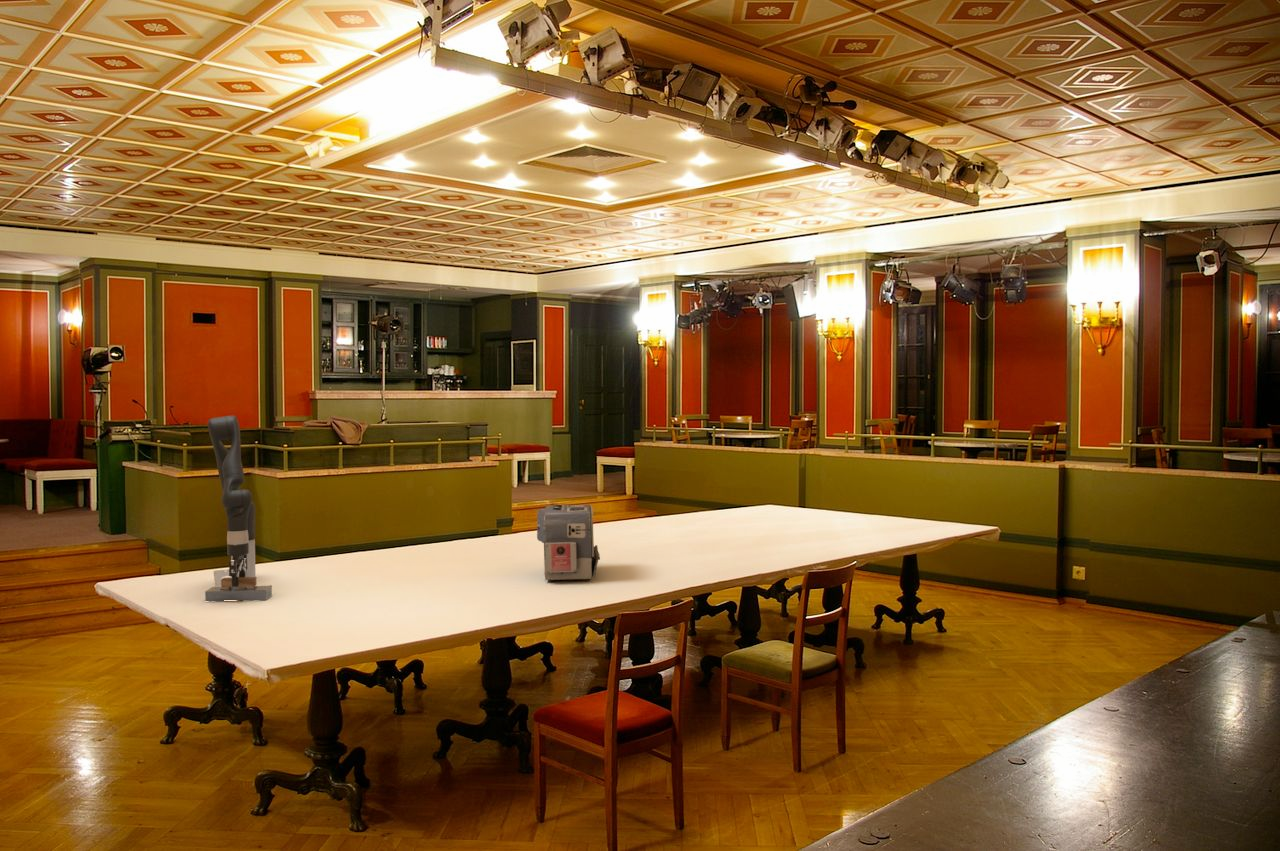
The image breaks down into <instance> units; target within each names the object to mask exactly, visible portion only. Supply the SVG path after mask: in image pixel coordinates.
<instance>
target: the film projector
mask: <svg viewBox="0 0 1280 851" xmlns="http://www.w3.org/2000/svg"><path fill="white" fill-rule="evenodd" d="M593 511H594V510H593V506H592V505H591V506H590V504H566V505H565V504H554V505H546V506H545V508H538V509H537V514H536V515H537V521H536V522H537V525H536V538H537V540H538V541H539V542H541V543H543V557H544V559H543V560H544V562H543V563H544V564H543V565H544V578H545V581H547V583H552V582H553V581H555V580H556V581H557V580H558V581H559V580H562V581H563V580H584V581H586V582H587V581H588V582H590V580H591V579H592V577H595V576H596V571H597V566H598V563H599V560H601V554H600V552H599V548H598V545H596V544H595V543H594V540H595V539H594V512H593ZM594 544H595V545H594Z"/></svg>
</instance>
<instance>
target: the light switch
mask: <svg viewBox="0 0 1280 851" xmlns="http://www.w3.org/2000/svg"><path fill="white" fill-rule="evenodd" d="M234 573H235V572H234ZM213 576H214V577H213V578H214V585H215V586H214V587H221V579H222V578H229V577H231V576H229V568H228V569H218V570H213Z"/></svg>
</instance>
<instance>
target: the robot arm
mask: <svg viewBox="0 0 1280 851" xmlns="http://www.w3.org/2000/svg"><path fill="white" fill-rule="evenodd" d="M207 429H208V433H209V438H210V440H211V444H212V447H213V452H214V455H215V460H216V466H217V471H218V477H219V481H220V485H221V488H222V496H221V504H222V506H223V508H225V515H226V519H227V521H226V523H227V524H226V525H227V535H226V541H227V542H226V547H227V550H226V551H227V553H226V554H227V555H228V556H231V558H230V560H229V561H228V569H229V576H231V577H232V587H237V586H238V585H239V583H238V577H256V578H257V576H256V541H255V540H256V539H255V538H256V506H255V503H254V502H253V501H252V500H253V495H252V492H251V491H250V490H248V489H240V487H241V486H242V485H243V484H244V482H245V473H244V466H243V463H242V454H241V453H242V452H241V451H242V446H241V445H242V444H241V430H240V424H239V420H238V418H237V416H235V415H234V414H233V415H224V416H218V417H212V418H210V419H209V420H208V421H207ZM227 440H231V445H230V448H229V449H227V447H226V446H225V445H224V443H223V442H222V441H227ZM234 572H235V573H234Z"/></svg>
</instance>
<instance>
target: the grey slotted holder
mask: <svg viewBox="0 0 1280 851" xmlns="http://www.w3.org/2000/svg"><path fill="white" fill-rule="evenodd" d="M272 587H273V585H256V589H247V586H245V587H231V590H222V587H215V586H212V587H210V588H208V589H207V590H205V591H204V595H205V596H204V597H205V598H204V600H205V601H224V600H260V601H267V600H268V599H270V598H271V597H272V596H273V594H272V593H273V588H272ZM271 595H272V596H271ZM270 596H271V597H270ZM269 597H270V598H269ZM267 598H268V599H267ZM266 599H267V600H266Z"/></svg>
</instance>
